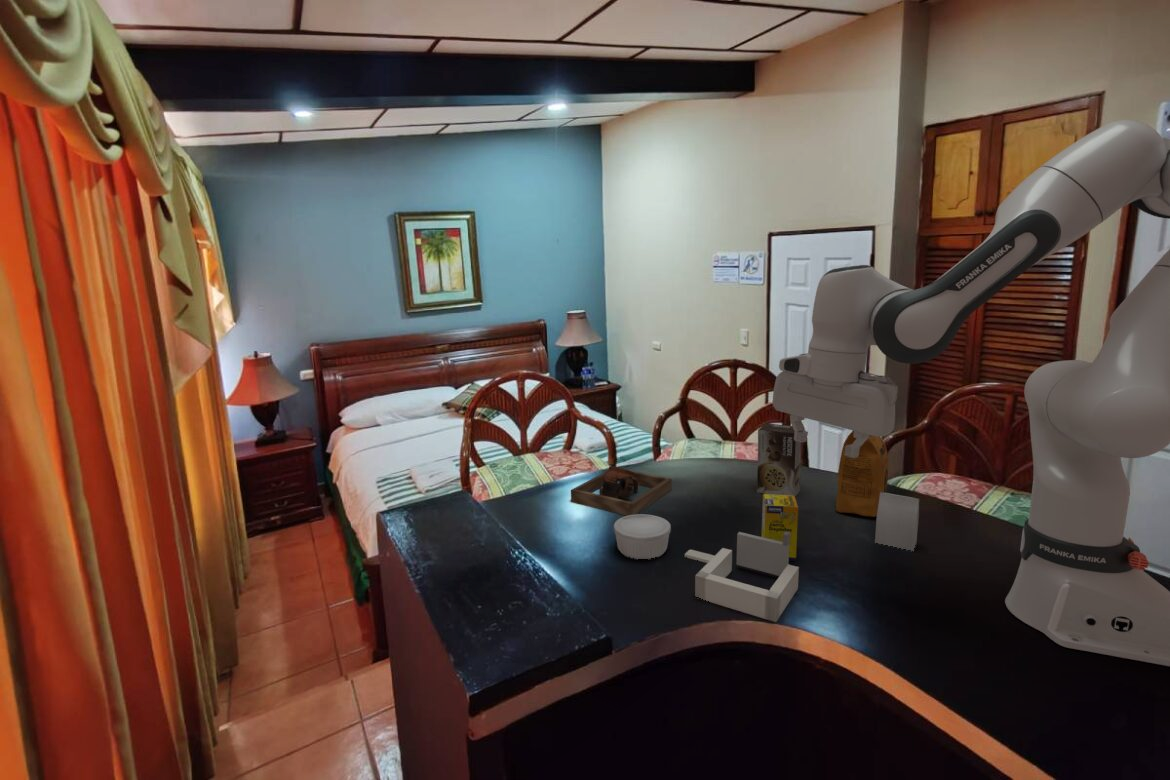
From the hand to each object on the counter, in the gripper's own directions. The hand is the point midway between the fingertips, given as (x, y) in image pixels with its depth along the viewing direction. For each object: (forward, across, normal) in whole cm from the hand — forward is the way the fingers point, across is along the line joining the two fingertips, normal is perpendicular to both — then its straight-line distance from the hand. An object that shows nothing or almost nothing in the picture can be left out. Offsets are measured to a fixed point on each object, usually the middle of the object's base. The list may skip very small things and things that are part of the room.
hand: (824, 448), depth 101 cm
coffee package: (+23, +11, -36) cm, 45 cm away
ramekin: (+26, +27, +14) cm, 41 cm away
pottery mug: (+27, +52, 0) cm, 58 cm away
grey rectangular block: (+23, -2, -25) cm, 34 cm away
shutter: (+24, +6, +5) cm, 25 cm away
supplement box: (+25, +9, -4) cm, 27 cm away
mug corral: (+27, +51, 0) cm, 58 cm away
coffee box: (+24, +29, -31) cm, 49 cm away
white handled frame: (+25, +8, +12) cm, 29 cm away
